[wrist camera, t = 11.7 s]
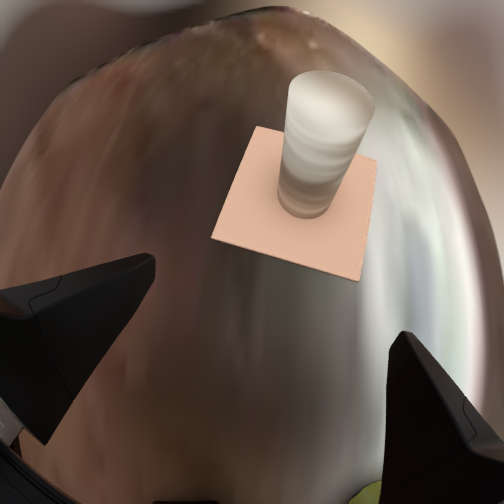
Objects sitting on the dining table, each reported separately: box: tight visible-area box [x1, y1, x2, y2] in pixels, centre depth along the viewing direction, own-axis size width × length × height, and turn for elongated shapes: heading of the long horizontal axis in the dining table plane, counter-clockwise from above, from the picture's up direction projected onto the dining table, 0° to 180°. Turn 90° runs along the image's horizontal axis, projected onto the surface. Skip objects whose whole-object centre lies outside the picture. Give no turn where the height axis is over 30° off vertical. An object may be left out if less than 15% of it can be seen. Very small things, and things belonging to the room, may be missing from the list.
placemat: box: [211, 126, 377, 282], centre depth 25 cm, size 13×13×1 cm
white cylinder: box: [277, 70, 375, 219], centre depth 20 cm, size 5×5×12 cm
